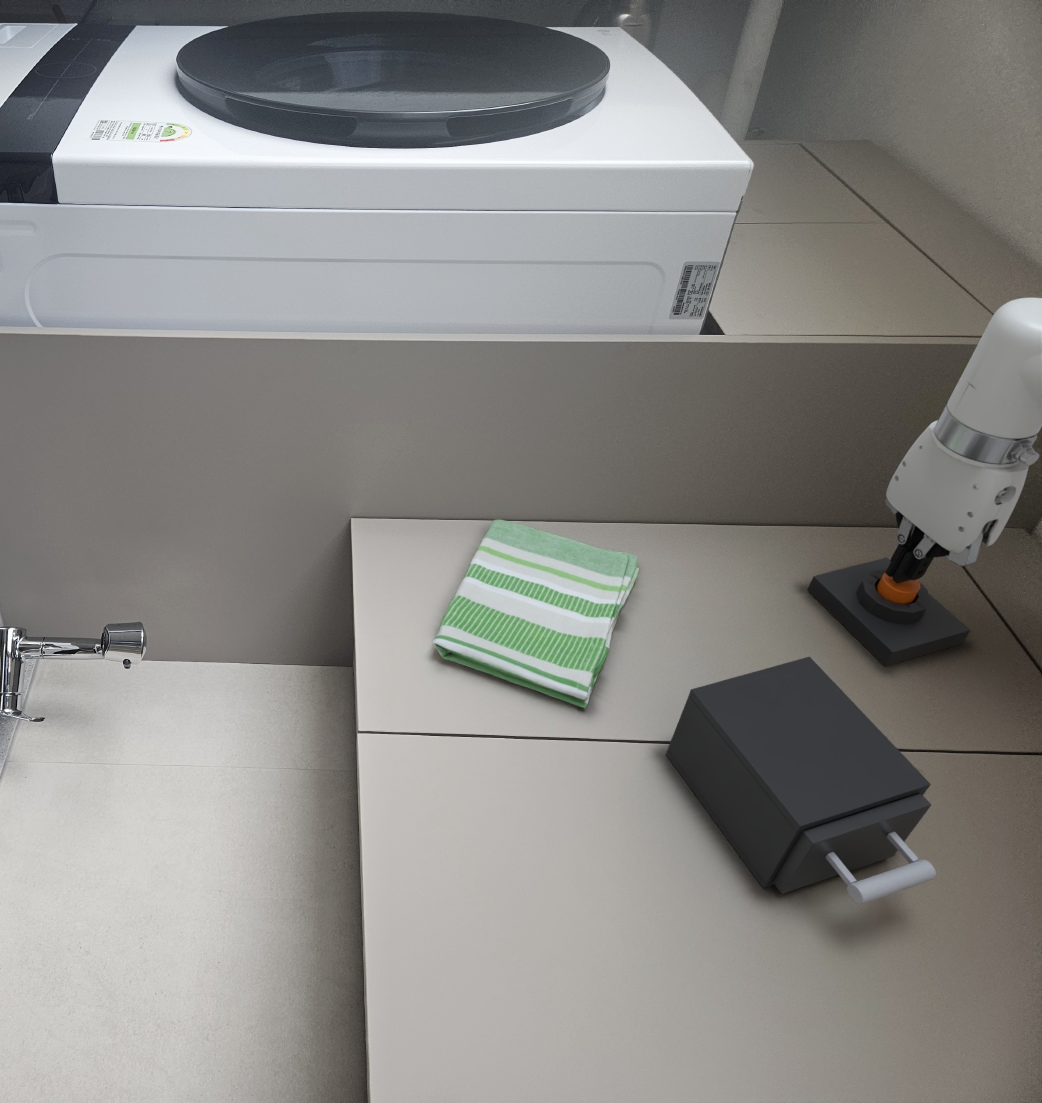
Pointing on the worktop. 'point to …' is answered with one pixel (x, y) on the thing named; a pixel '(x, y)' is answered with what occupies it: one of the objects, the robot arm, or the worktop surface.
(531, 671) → the dish towel
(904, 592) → the button
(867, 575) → the control block
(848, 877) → the dark grey drawer
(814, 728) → the dark grey drawer box
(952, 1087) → the worktop surface
